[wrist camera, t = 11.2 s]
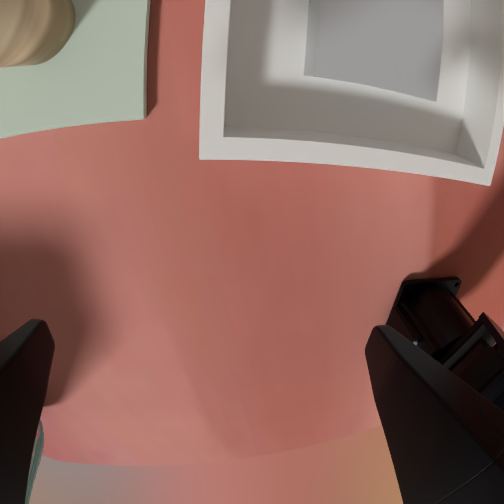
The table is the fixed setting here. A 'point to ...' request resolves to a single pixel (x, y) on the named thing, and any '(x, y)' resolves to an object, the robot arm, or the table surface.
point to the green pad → (83, 73)
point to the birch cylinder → (33, 30)
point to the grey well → (355, 84)
